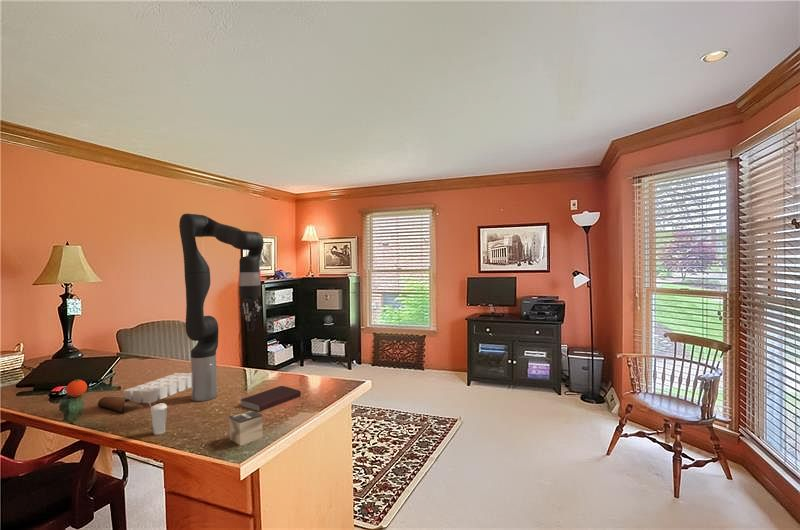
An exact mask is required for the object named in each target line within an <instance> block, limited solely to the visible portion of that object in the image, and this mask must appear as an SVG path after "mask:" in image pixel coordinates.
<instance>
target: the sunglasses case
mask: <svg viewBox="0 0 800 530" xmlns="http://www.w3.org/2000/svg"><path fill="white" fill-rule="evenodd" d="M97 406H98V408H107V409H109V410H113V411H116V412H118V413H122V414H123V415H124V414H128V413H130V412H133V411H134V412H135V411H137V410H140V409H143V408H144V406H143V405H141V404H140V403H138V402H133V401H130V399H127V398H124V397H119V396H105V397H101V398H100V399H99V401H98V402H97Z"/></svg>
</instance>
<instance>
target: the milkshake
mask: <svg viewBox="0 0 800 530" xmlns="http://www.w3.org/2000/svg"><path fill="white" fill-rule="evenodd" d="M147 404H149V407H150V416H151V424H152V433H153V435H154V436H157V435H163V434H164V433H165V432H166V424H167V414H168V413H167V412H168V405H167V404H166V403H164V402H160V403H157V404H155V405H152V403H150V402H148V403H147Z"/></svg>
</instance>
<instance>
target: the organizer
mask: <svg viewBox="0 0 800 530" xmlns="http://www.w3.org/2000/svg"><path fill="white" fill-rule="evenodd" d="M186 389H187V390H188V389H191V372H189V373H187V372H186V373H185V372H176V373H172V374H169V375H166V376H163V377H159V378H158V379H155V380H151V381H148V382H144V384H139V385H136V386H134V387H129V388H127V389H124V390H123V398H127V399H130V401H133V402H136V403H138V404H140V403H143V404H149V403H148V402H150V404H152V403H154V402H155V403H156V402H158V400H162V399H165V398H167V397H168V396H172V395H175V394H178V393H180V392H182V391H185V390H186Z"/></svg>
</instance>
